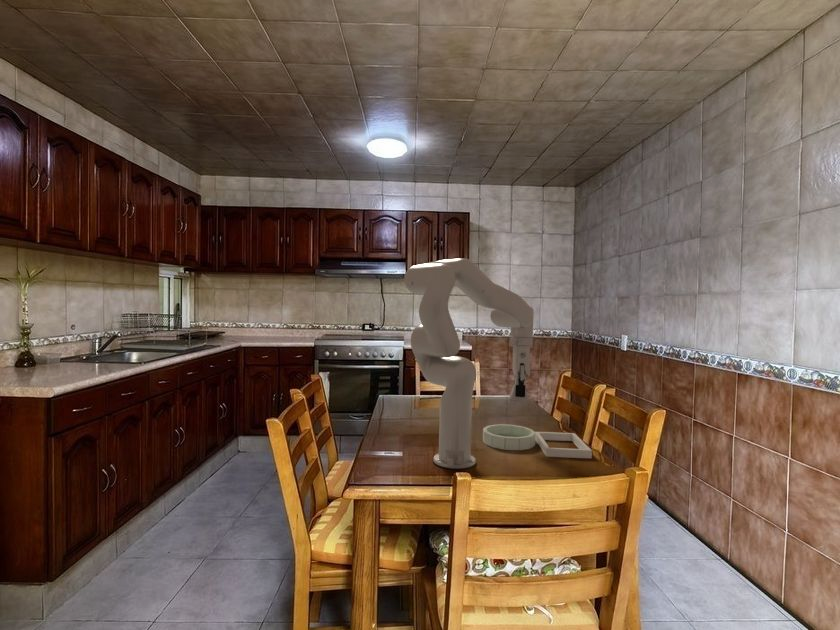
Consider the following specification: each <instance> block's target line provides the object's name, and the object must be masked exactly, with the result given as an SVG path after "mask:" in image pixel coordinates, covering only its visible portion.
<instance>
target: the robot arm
mask: <svg viewBox="0 0 840 630" xmlns="http://www.w3.org/2000/svg"><path fill="white" fill-rule="evenodd" d="M403 278H404V281H403V282H404V285H405V287H406V289H407V290H408V291H409V292H410V293H413V294H417V295H422V298H421V301H420V304H419V306H418V307H419V309H418V317H419V321H420V324H419V325H417V326H415V328H414V329H413V331H412V332H411V335H410V347H411V350H412V353H413V356H414V358H415V361H416V362H417V365H418V368H419V370H420V371H421V374H422V376H423V377H424V379H425V381H427V382H428V383H430V384H432V385H435V386H436V385H437V386H440V387H445V389H444V392H443V394H442V395H441V397H440V401H439V426H438V427H439V432H438V434H439V435H438V453H436V454H434V456H433V458H432V459H433V462H434V464H436V465H437V466H439V467H442V468H447V469H452V470H453V469H454V470H455V469H457V470H459V469H460V470H461V469H467V468H472V467H473V466H475V464H476V460H477V459H476V457H475V456H474V455H471V450H472V449H471V448H472V416H473V415H472V414H473V413H472V406H473V392H474V385H475V384H476V383H475V382H476V377H477V369H476V365H475V364H474V363H473V361H471V360H470V359H469V358H466V357H465V356H464V357H463V356H458V355H457V354H458V353H459V352H460V348H461V342H460V338H459V335H458V332H457V330H456V327H455V324H454V322H453V320H452V316H451V313H450V311H449V299H450V296H451V293H452V291H453V289H454V287H456V288H458V289H459V290H460V291H461V292H462V293H464V294H465V296H467V297H468V298H469V300H471V301H472V302H473V303H475V304H476V305H478V306H481V307H484V308H488V309H490V310H491V312H490V315H489V317H490V321H491V322H492V323H493V325H494V326H496V327H501V328H510V336H509V347H512V373H513V375H514V379H513V381H514V382H513V384H514V383H515V380H516V376H517V385H516V389H515V396H516V397H525V386H526V377H527V378H529V377H530V375H531V351H530V350H531V348H533V339H534V336H533V335H534V317H535V316H534V315H535V314H534V313H535V311H534V308H533V307H531V306H530V305H529V304H528V303H527V302H526V300H524V298H522V296H520V295H519V294H517V293H515V292H514V291H511V290H509V289H507V288H505V287H504V286H501V285H499V284H496V283H495V282H494V281H492V279H490V278H489V277H488V276H487V275H486V273H485V272H483V270H482V269H480V268H479V267H478V266H477V265H476V263H475V262H473V261H471V260H470V259H469V258H461V257H459V258H458V257H457V258H450V259H448V258H447V259H441V260H437V261H431V262H427V263H420V264H416V265H412V266H411V267H409V268H408V269H407V271H406V272H405V274H404V277H403ZM518 374H520V376H519V375H518Z"/></svg>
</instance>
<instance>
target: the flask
mask: <svg viewBox="0 0 840 630" xmlns="http://www.w3.org/2000/svg"><path fill="white" fill-rule="evenodd" d="M518 375H519V376H520V374H518ZM516 385H517V376H516V380H515V383H514V382H513V386H512V389H511V391H510V394H509V396H508V400H509V401H511V402H518V403H525V402H526V403H528V402H530V400H531V399H530V396H529V394H528V390H527V387H526V386H525V397H516V396H515V389H516Z"/></svg>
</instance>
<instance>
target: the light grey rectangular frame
mask: <svg viewBox="0 0 840 630" xmlns="http://www.w3.org/2000/svg"><path fill="white" fill-rule="evenodd" d="M534 432H535V443H537V445H538V447H540V449H541V450H542V452H543V453H544V456H545V457H549V458H568V459H569V458H571V459H572V458H573V459H575V458H576V459H592V458H593V450H592V449H591V448H590V447H589V446H588V445H587V444H586V443H585V442H584V441H583V439H581V438H580V437H579V436H578V435H577V434H576V433H575V432H554V431H534ZM546 441H563V442H566V441H567V442H572V443H573V444H574V445H575V446H576V447H577V448H565V447H549V445H548V443H547V442H546Z"/></svg>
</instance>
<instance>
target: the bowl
mask: <svg viewBox="0 0 840 630" xmlns="http://www.w3.org/2000/svg"><path fill="white" fill-rule="evenodd" d="M535 432H536V431H534V430H533V429H531V428H530V427H529V428H528V427H526V426H521V425H517V424H505V423H503V424H501V423H500V424H491V425H486V426H485V427H483V429H482V441H483V444H485V445H486V446H488V447H491V448H493V449H498V450H499V449H500V450H502V451H503V450H505V451H524V450H531V449H532V448H534V447H535V446H536V440H535Z"/></svg>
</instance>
